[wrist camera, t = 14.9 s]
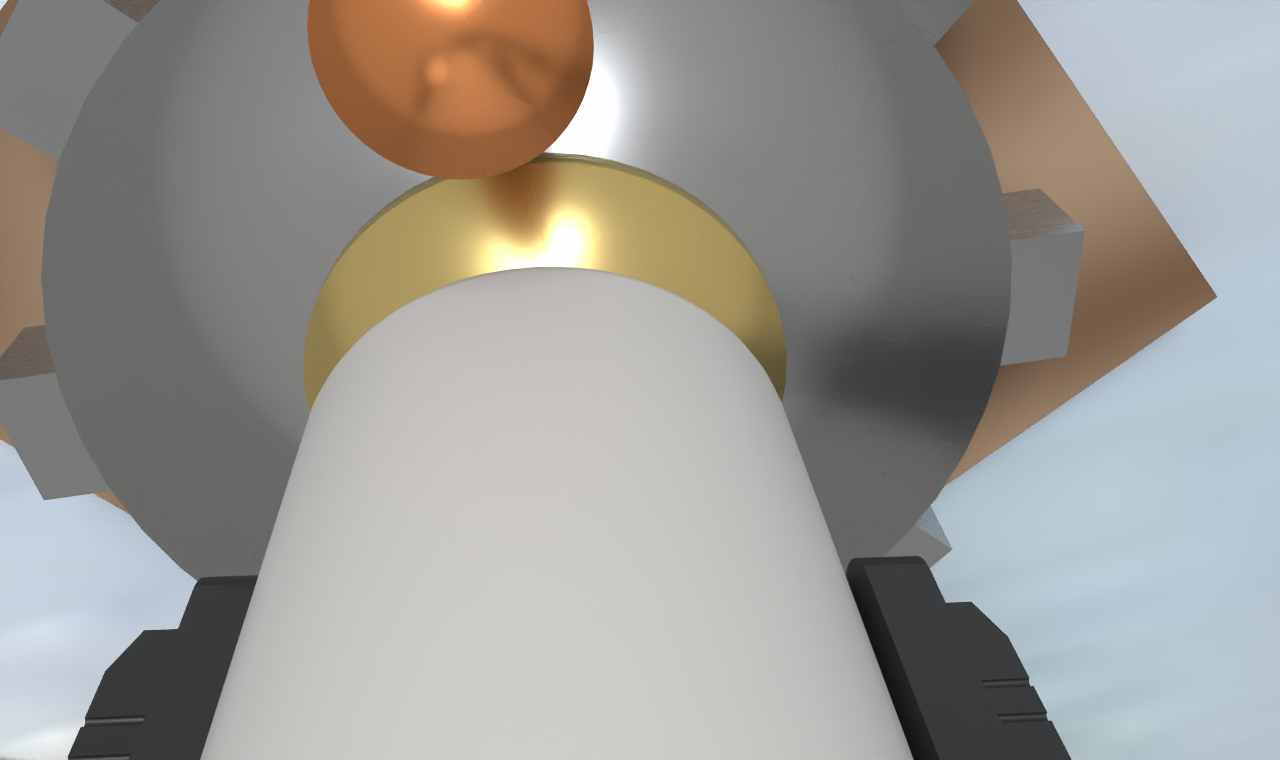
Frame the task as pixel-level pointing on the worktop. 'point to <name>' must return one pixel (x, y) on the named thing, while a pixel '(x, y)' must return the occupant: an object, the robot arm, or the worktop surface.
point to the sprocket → (506, 226)
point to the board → (1024, 159)
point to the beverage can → (551, 549)
